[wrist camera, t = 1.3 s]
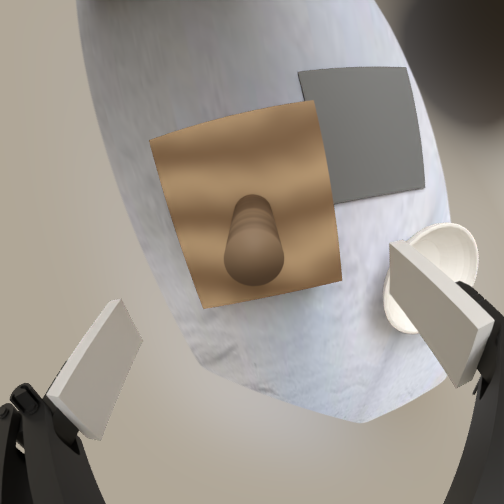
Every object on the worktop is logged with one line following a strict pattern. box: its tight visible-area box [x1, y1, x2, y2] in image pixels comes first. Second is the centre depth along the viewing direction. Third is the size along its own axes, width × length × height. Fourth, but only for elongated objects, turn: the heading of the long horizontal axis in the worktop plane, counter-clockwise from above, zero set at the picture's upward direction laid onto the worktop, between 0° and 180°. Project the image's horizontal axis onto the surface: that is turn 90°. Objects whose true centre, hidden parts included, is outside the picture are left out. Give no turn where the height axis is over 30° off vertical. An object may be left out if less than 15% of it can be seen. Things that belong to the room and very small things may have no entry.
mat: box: [298, 67, 425, 204], centre depth 33 cm, size 19×17×1 cm
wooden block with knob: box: [149, 100, 342, 309], centre depth 26 cm, size 18×15×23 cm
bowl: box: [383, 223, 479, 334], centre depth 39 cm, size 20×20×7 cm
